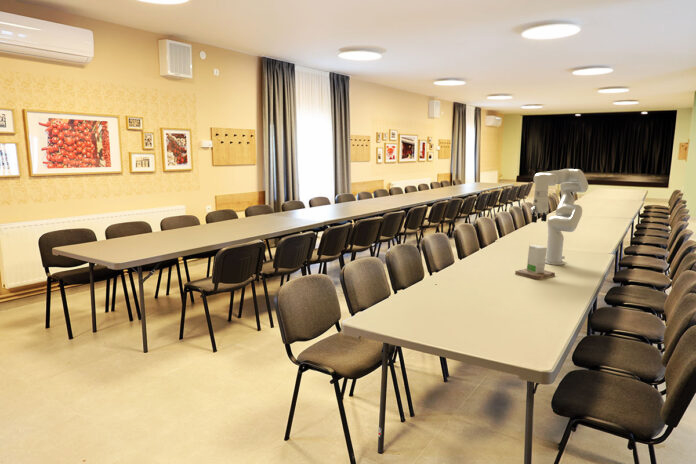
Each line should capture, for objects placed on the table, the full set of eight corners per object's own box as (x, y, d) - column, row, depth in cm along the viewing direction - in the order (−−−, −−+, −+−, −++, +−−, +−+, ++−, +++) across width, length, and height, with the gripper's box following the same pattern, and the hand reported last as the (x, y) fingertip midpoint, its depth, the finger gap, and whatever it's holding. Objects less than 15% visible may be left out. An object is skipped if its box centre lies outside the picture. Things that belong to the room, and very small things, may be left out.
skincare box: (526, 270, 277) (528, 245, 274) (534, 269, 279) (536, 244, 276) (536, 273, 269) (538, 247, 266) (545, 272, 271) (547, 247, 269)
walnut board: (532, 270, 285) (532, 267, 284) (554, 275, 272) (555, 272, 272) (515, 274, 275) (515, 270, 275) (537, 279, 263) (537, 276, 263)
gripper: (538, 195, 272) (535, 223, 275) (555, 194, 281) (552, 221, 284) (527, 194, 278) (524, 222, 281) (544, 193, 287) (541, 220, 290)
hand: (538, 221), depth 283 cm, fingers open, 9 cm apart
